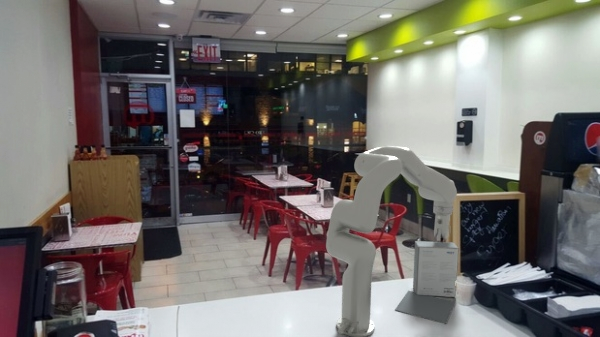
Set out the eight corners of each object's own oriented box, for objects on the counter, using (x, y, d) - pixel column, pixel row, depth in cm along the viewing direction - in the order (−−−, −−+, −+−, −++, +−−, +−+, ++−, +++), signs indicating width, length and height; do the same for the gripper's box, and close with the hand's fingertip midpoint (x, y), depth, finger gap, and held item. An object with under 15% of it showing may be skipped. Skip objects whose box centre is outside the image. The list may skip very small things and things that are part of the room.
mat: (446, 324, 138) (446, 323, 138) (394, 310, 147) (394, 309, 147) (455, 302, 154) (455, 301, 154) (408, 291, 162) (408, 290, 162)
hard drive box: (450, 289, 164) (454, 242, 162) (456, 297, 157) (459, 248, 154) (412, 287, 166) (414, 240, 163) (415, 295, 158) (418, 246, 156)
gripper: (449, 214, 156) (446, 260, 159) (455, 206, 169) (452, 248, 172) (429, 212, 160) (426, 256, 163) (437, 204, 173) (434, 245, 175)
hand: (440, 252), depth 167 cm, fingers closed
